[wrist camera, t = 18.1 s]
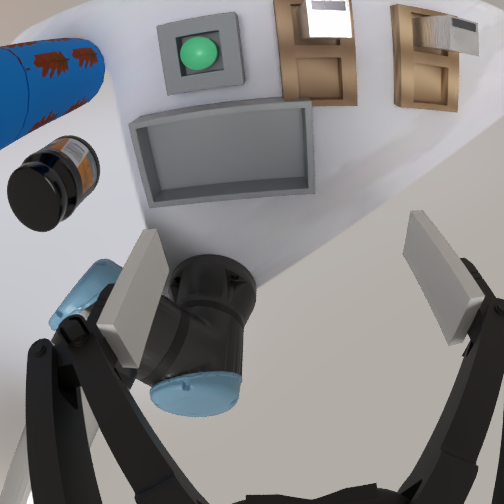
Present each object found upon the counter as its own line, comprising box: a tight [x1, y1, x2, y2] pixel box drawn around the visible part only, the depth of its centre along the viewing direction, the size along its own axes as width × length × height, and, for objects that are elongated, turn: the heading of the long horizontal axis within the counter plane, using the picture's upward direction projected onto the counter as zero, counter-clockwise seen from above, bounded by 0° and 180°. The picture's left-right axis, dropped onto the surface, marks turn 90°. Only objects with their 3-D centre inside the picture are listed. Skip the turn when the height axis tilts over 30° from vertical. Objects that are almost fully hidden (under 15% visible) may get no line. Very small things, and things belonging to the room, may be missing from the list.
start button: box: [180, 37, 219, 70], centre depth 31 cm, size 4×4×3 cm
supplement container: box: [7, 136, 100, 232], centre depth 38 cm, size 10×10×12 cm
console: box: [157, 12, 245, 95], centre depth 32 cm, size 9×9×4 cm
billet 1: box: [296, 0, 352, 40], centre depth 27 cm, size 4×4×10 cm
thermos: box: [0, 38, 105, 150], centre depth 24 cm, size 11×11×25 cm
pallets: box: [273, 0, 459, 112], centre depth 32 cm, size 14×24×2 cm, turn 96°
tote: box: [129, 96, 315, 208], centre depth 40 cm, size 12×22×4 cm, turn 96°
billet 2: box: [412, 15, 479, 56], centre depth 26 cm, size 4×4×10 cm
